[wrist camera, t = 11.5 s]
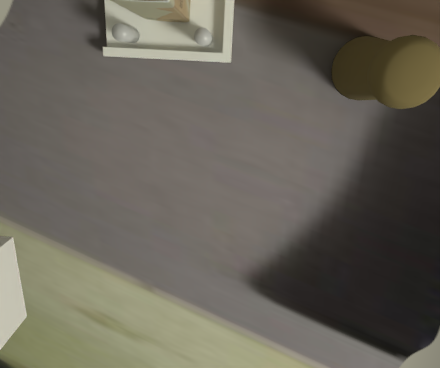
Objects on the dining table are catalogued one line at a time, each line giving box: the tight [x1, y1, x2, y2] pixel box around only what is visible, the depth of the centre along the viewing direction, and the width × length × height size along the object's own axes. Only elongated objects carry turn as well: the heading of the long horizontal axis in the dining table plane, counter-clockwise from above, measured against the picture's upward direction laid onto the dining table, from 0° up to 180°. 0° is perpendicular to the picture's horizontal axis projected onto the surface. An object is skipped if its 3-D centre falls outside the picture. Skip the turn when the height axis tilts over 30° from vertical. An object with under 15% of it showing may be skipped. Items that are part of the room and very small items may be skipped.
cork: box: [332, 35, 440, 109], centre depth 30 cm, size 6×6×11 cm
